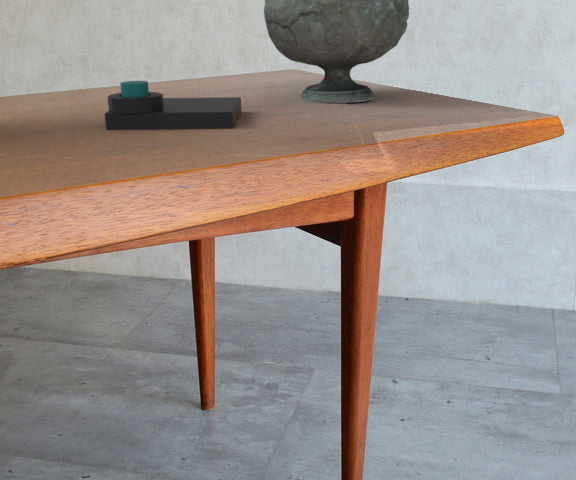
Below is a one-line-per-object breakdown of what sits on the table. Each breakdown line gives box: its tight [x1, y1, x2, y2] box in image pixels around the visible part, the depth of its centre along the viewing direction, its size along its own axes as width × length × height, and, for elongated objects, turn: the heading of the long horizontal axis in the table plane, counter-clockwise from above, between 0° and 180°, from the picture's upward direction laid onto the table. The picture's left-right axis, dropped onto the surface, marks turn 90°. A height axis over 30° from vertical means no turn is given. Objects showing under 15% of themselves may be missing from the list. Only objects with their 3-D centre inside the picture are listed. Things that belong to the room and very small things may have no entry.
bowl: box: [263, 0, 410, 104], centre depth 100 cm, size 20×19×15 cm
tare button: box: [119, 80, 150, 97], centre depth 82 cm, size 3×3×2 cm
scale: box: [104, 91, 242, 131], centre depth 85 cm, size 14×12×4 cm
